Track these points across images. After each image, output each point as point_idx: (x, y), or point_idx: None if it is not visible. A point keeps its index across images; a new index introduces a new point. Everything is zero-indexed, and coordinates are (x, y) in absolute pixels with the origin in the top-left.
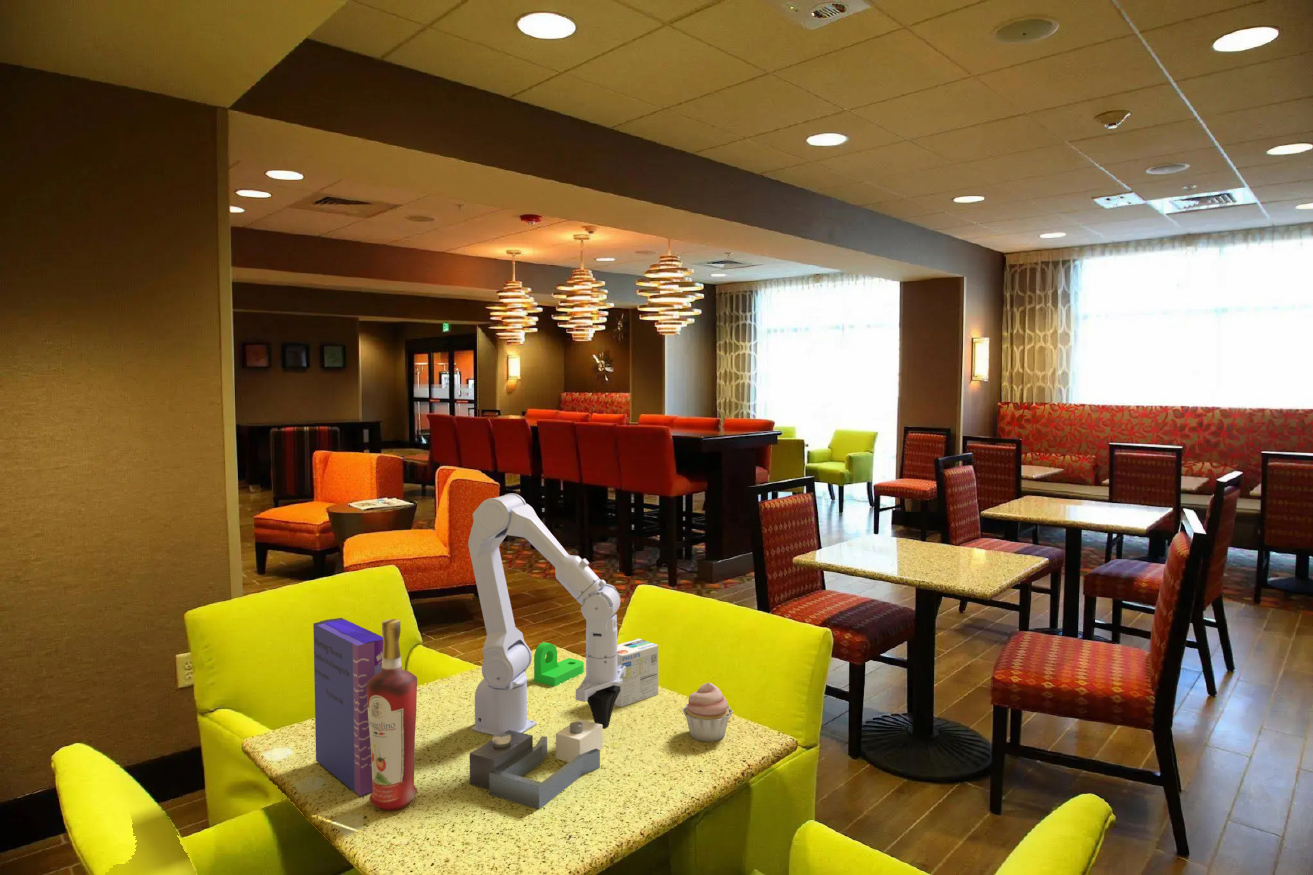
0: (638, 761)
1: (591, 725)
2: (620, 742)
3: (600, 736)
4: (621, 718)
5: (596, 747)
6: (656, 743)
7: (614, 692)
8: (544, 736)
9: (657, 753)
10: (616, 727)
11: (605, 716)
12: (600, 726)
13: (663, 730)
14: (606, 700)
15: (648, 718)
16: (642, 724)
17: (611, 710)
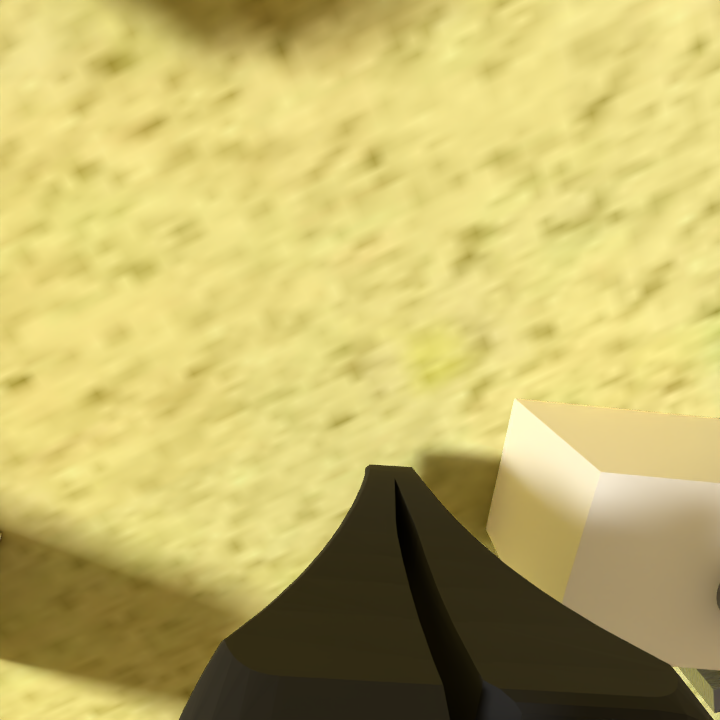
0: (614, 124)
1: (638, 539)
2: (405, 344)
3: (581, 434)
4: (121, 471)
5: (591, 417)
6: (332, 121)
7: (437, 710)
8: (713, 701)
9: (470, 45)
10: (238, 446)
11: (453, 517)
12: (627, 473)
13: (132, 162)
14: (662, 666)
15: (30, 332)
16: (126, 330)
17: (368, 519)
